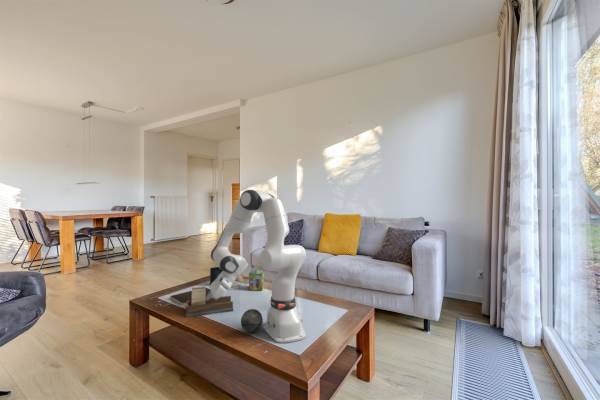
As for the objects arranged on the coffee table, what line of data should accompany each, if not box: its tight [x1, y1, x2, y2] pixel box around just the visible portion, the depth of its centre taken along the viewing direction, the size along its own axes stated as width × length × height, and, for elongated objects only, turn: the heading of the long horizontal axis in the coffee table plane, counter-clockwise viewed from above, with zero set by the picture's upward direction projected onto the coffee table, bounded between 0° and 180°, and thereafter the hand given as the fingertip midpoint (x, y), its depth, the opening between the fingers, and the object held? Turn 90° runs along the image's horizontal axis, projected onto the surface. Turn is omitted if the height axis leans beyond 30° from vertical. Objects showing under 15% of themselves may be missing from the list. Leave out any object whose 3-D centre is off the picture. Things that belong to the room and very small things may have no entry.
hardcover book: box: [169, 286, 211, 306], centre depth 169 cm, size 16×23×2 cm
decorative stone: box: [240, 308, 264, 333], centre depth 126 cm, size 10×10×10 cm
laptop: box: [209, 266, 242, 288], centre depth 192 cm, size 18×12×13 cm
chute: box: [185, 295, 234, 318], centre depth 151 cm, size 16×24×4 cm, turn 111°
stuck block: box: [191, 286, 206, 306], centre depth 149 cm, size 7×7×10 cm
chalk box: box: [248, 266, 265, 291], centre depth 187 cm, size 9×9×15 cm
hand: (206, 299), depth 151 cm, fingers closed, pressing on stuck block
